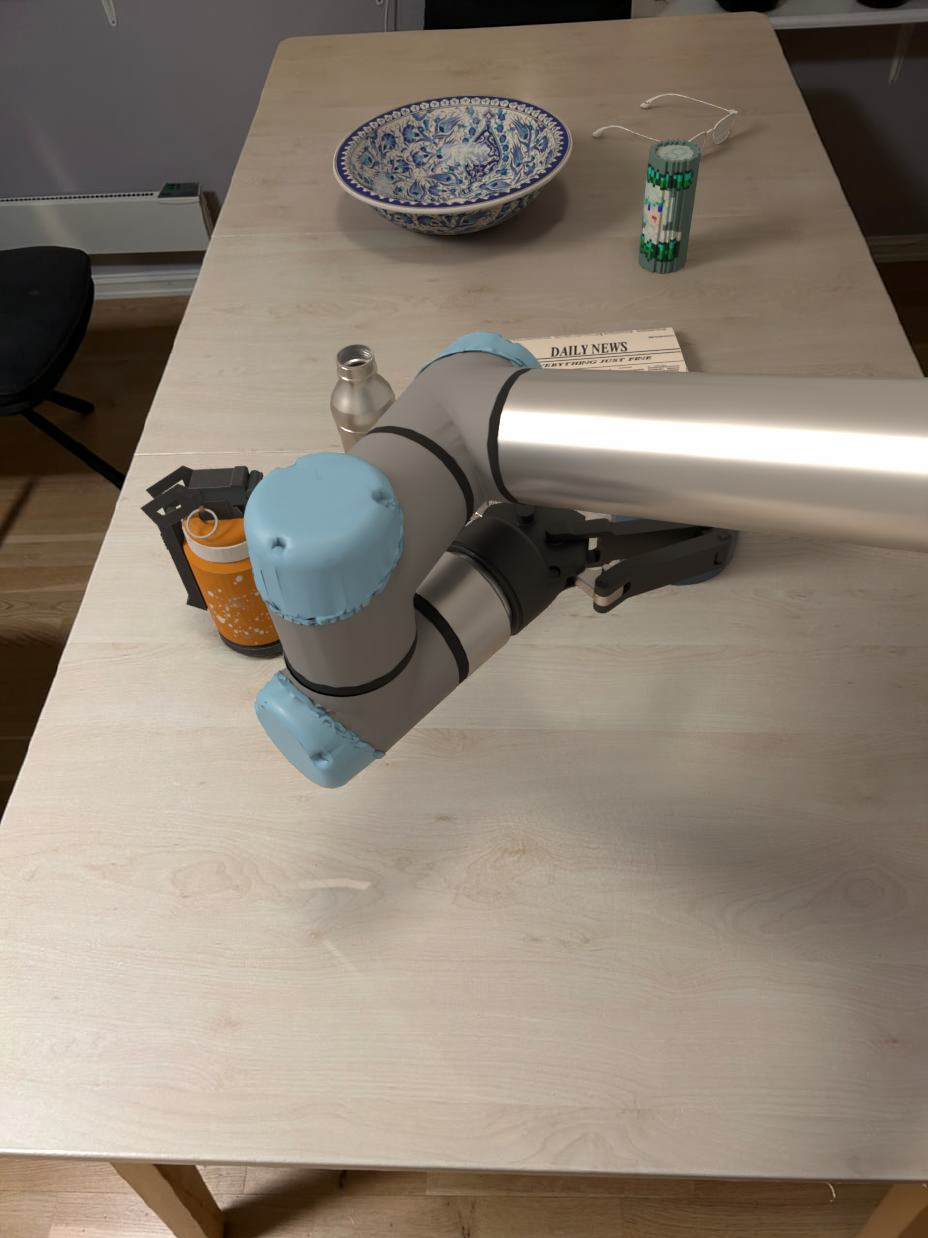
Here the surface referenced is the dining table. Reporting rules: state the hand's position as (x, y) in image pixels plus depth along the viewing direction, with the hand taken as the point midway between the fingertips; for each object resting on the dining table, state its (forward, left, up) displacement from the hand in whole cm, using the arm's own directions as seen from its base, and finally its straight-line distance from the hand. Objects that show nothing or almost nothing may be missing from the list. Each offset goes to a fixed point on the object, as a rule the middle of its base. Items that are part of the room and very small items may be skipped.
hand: (672, 428), depth 69 cm
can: (+37, -55, -26) cm, 71 cm away
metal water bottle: (+31, +4, -26) cm, 41 cm away
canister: (+29, +23, -26) cm, 46 cm away
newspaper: (+29, -30, -26) cm, 49 cm away
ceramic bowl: (+69, -47, -26) cm, 87 cm away
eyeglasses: (+59, -85, -26) cm, 106 cm away
